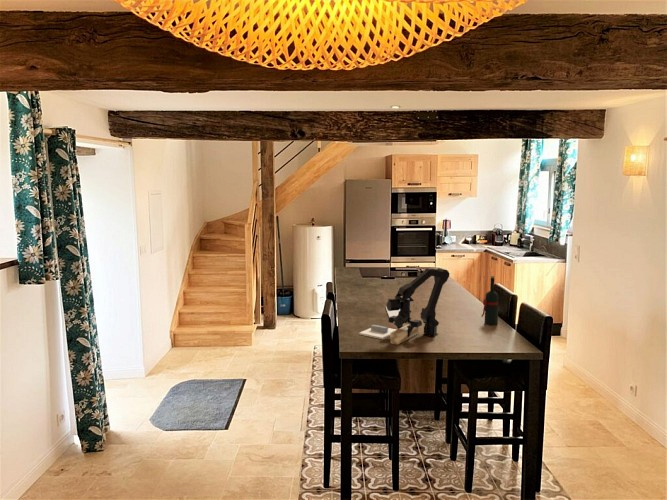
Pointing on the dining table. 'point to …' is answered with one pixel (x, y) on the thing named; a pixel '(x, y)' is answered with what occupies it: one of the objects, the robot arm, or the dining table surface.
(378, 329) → the ridge stand
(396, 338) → the birch bar
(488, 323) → the wine bottle
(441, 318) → the dining table surface
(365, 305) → the dining table surface
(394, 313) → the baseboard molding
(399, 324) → the robot arm
